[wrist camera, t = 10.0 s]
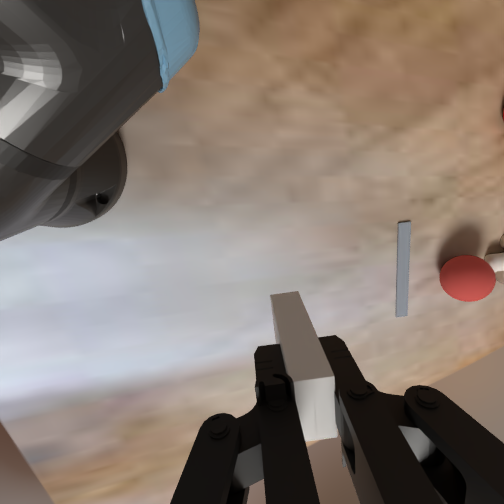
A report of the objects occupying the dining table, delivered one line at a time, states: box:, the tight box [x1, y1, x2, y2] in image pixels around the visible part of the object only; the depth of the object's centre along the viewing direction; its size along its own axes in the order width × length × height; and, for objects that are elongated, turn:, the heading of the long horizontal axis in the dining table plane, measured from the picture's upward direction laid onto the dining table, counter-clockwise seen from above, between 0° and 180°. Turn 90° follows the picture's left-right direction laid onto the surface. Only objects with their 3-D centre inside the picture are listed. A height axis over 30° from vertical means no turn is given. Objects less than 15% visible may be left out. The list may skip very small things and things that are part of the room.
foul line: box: [396, 222, 411, 317], centre depth 43 cm, size 14×2×1 cm, turn 7°
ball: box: [440, 255, 496, 302], centre depth 41 cm, size 6×6×6 cm
